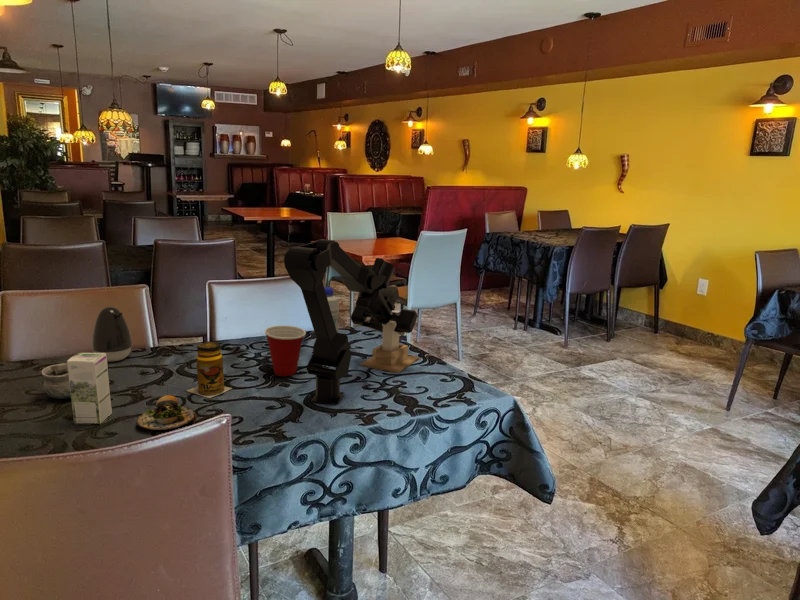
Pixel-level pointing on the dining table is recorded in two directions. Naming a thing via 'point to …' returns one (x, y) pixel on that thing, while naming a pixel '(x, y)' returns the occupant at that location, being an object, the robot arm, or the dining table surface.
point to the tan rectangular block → (390, 337)
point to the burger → (166, 415)
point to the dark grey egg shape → (111, 335)
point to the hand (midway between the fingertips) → (393, 332)
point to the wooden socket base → (390, 359)
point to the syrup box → (89, 387)
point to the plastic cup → (285, 348)
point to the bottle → (333, 305)
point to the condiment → (209, 371)
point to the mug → (57, 381)
